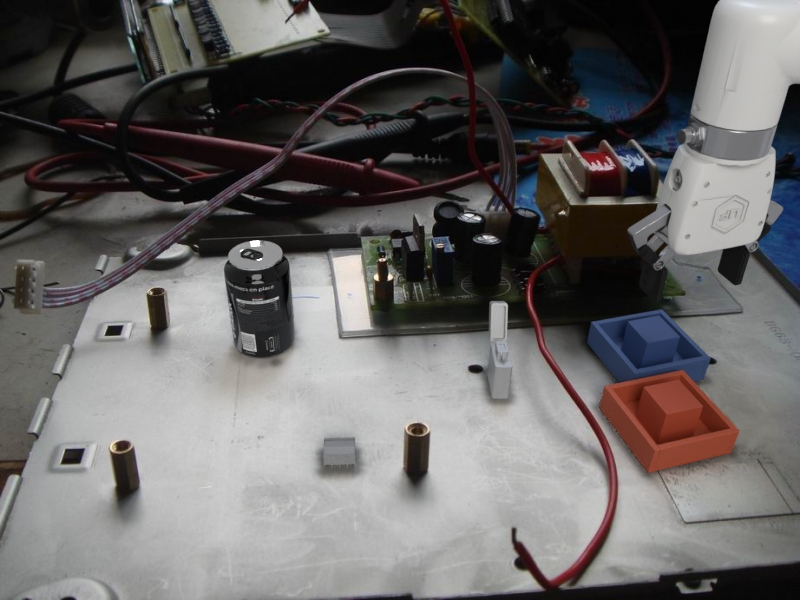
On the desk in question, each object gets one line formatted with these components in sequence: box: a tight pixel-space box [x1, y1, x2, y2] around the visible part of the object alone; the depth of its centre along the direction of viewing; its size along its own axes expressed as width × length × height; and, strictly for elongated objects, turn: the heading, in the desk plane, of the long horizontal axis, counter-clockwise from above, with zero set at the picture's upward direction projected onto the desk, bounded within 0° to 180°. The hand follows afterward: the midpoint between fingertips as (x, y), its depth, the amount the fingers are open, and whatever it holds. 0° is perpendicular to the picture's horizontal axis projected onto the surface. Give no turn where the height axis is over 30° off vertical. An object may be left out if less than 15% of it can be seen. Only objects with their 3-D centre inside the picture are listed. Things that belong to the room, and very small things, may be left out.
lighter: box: [486, 300, 514, 400], centre depth 79 cm, size 7×2×8 cm, turn 2°
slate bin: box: [586, 308, 711, 383], centre depth 83 cm, size 9×9×3 cm
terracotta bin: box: [598, 370, 740, 474], centre depth 74 cm, size 9×9×3 cm
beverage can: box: [223, 240, 296, 359], centre depth 81 cm, size 7×7×12 cm
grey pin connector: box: [322, 436, 357, 470], centre depth 70 cm, size 3×2×2 cm
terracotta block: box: [636, 380, 703, 444], centre depth 73 cm, size 4×4×4 cm
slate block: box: [621, 316, 680, 369], centre depth 82 cm, size 4×4×4 cm
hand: (689, 286), depth 80 cm, fingers open, 9 cm apart
